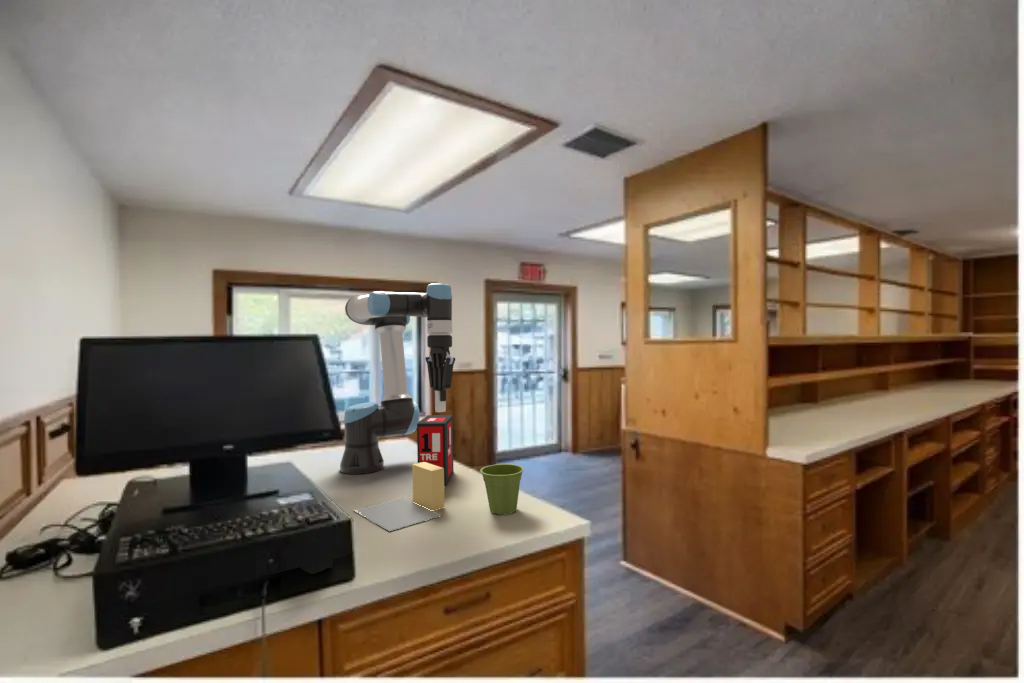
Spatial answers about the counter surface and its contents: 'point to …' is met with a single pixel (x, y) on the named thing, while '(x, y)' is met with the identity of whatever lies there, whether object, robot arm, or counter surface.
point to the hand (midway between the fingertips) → (440, 411)
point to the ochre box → (428, 485)
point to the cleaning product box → (436, 442)
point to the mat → (397, 514)
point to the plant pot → (502, 487)
